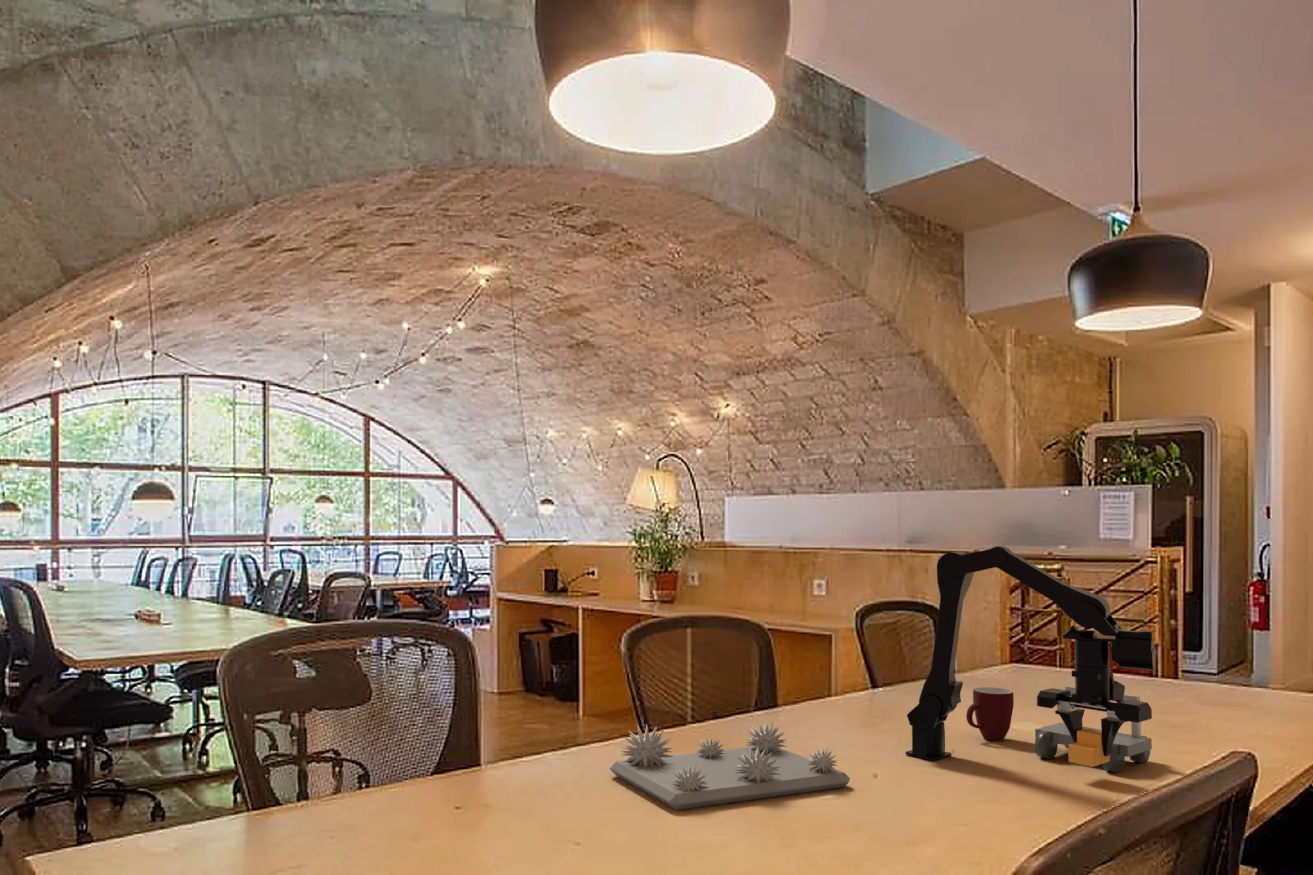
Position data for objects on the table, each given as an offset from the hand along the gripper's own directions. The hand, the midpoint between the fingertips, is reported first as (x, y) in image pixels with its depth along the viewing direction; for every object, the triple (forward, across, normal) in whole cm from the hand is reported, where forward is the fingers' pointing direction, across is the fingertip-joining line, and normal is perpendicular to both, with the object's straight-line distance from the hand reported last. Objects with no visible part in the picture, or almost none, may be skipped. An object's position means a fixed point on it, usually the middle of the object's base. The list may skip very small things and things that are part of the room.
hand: (1093, 753), depth 184 cm
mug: (+5, +28, -13) cm, 32 cm away
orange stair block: (+1, 0, +2) cm, 2 cm away
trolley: (+4, +6, -13) cm, 15 cm away
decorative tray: (+5, +40, +53) cm, 66 cm away
